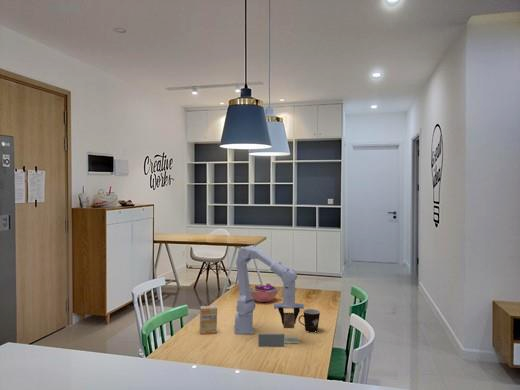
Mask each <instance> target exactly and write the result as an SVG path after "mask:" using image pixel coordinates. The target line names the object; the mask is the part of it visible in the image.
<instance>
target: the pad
mask: <svg viewBox="0 0 520 390" xmlns="http://www.w3.org/2000/svg"><path fill="white" fill-rule="evenodd" d="M284 343H299V344H300V341H299V338H298V337H296V336H295V337H293V336H284Z"/></svg>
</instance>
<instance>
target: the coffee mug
mask: <svg viewBox="0 0 520 390" xmlns="http://www.w3.org/2000/svg"><path fill="white" fill-rule="evenodd" d="M320 314H321V311H320V310H318V309H314V308H308V309H303V315H299V317H298V322H299V323H300V324H301V325H303V326H304V331H305V330H306V331H309V332H308V333H310V332H315V331H317V330H319V329H318V328H319V323H320ZM301 317H303V321H304V323H303V322H301V320H300V319H301ZM306 331H305V332H306ZM317 332H318V331H317ZM315 333H316V332H315Z"/></svg>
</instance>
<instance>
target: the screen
mask: <svg viewBox="0 0 520 390" xmlns="http://www.w3.org/2000/svg"><path fill="white" fill-rule="evenodd" d="M284 337H285V333H258V345H257V346H258V347H285V344H284Z"/></svg>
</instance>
